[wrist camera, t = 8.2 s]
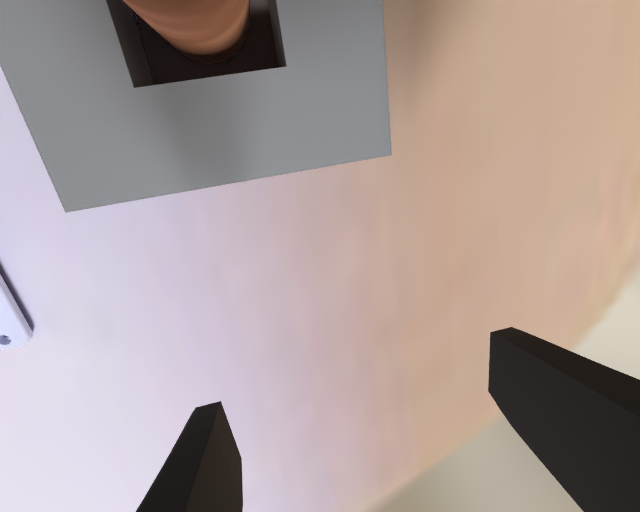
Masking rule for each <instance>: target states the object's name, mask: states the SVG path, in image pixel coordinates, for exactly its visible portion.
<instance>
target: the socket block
mask: <svg viewBox="0 0 640 512" xmlns="http://www.w3.org/2000/svg"><path fill="white" fill-rule="evenodd" d="M267 1H268V7H269V12H270V18H271V24H272V30H273V36H274V42H275V48H276V54H277V60H278V66H279V68H272V69H265V70H258V71H251V72H244V73H236V74H229V75H222V76H215V77H208V78H201V79H194V80H187V81H180V82H173V83H166V84H159V85H155V84H154V81H153V78H152V74H151V71H150V68H149V64H148V61H147V57H146V54H145V51H144V47H143V44H142V41H141V37H140V34H139V30H138V27H137V24H136V20H135V17H134V14H133V10H132V8H130V7H129V6H128V5H127V4H126V3H125V2H124V1H123V0H0V66H1V68H2V70H3V72H4V75H5V77H6V79H7V81H8V84H9V86H10V88H11V90H12V93H13V95H14V97H15V100H16V102H17V104H18V106H19V109H20V111H21V113H22V115H23V118H24V120H25V122H26V124H27V127H28V129H29V131H30V133H31V136H32V138H33V140H34V142H35V145H36V147H37V149H38V151H39V154H40V156H41V158H42V160H43V163H44V165H45V167H46V169H47V172H48V174H49V176H50V178H51V181H52V183H53V185H54V188H55V190H56V192H57V194H58V197H59V199H60V201H61V203H62V206H63V208H64V210H65V212H71V211H77V210H83V209H88V208H94V207H100V206H105V205H111V204H117V203H122V202H128V201H134V200H139V199H145V198H151V197H156V196H162V195H168V194H174V193H179V192H185V191H191V190H196V189H202V188H208V187H213V186H219V185H225V184H230V183H236V182H242V181H247V180H253V179H259V178H264V177H270V176H276V175H282V174H287V173H293V172H299V171H304V170H310V169H316V168H321V167H327V166H333V165H338V164H344V163H350V162H355V161H361V160H367V159H372V158H378V157H384V156H389V155H392V150H391V134H390V118H389V102H388V86H387V70H386V54H385V38H384V21H383V5H382V0H267Z"/></svg>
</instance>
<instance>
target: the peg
mask: <svg viewBox="0 0 640 512" xmlns="http://www.w3.org/2000/svg"><path fill="white" fill-rule="evenodd" d="M123 1H124V2H125V3H126V4H127V5H128V6H129V7H130V8H132V9H133V10H134V11H135V12H136V13H137V14H138V15H139V16H140V17H141V18H142V19H143V20H145V21H146V22H147V23H148V24H149V25H150V26H151V27H152V28H153V29H154V30H155V31H156V32H158V33H159V34H160V35H161V36H162V37H163V38H164V39H165V40H166V41H167V42H168V43H170V44H171V45H172V46H173V47H174V48H175V49H176V50H177V51H178V52H180V53H181V54H182V55H184V56H186V57H187V58H189V59H191V60H194V61H197V62H200V63H208V64H212V63H219V62H223V61H225V60H227V59H229V58H231V57H232V56H234V55H235V54H236V53H237V52H238V51H239V50H240V49H241V47H242V45H243V44H244V42H245V40H246V38H247V35H248V32H249V26H250V0H123Z"/></svg>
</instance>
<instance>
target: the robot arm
mask: <svg viewBox="0 0 640 512" xmlns="http://www.w3.org/2000/svg"><path fill="white" fill-rule="evenodd" d="M3 335H5V336H8V337H9V338H10V339H11V340H8V339H6V338H5V337H4V336H3ZM32 336H33V333H32V330H31V328H30V327H29V325H28V323H27V321H26V319H25V318H24V316H23V314H22V312H21V310H20V309H19V307H18V305H17V303H16V302H15V300H14V298H13V296H12V294H11V293H10V291H9V289H8V287H7V285H6V284H5V282H4V280H3V278H2V276H1V275H0V350H5V349H10V348H14V347H19V346H23V345H25V344H27V343H28V342H29V341H30V340H31V338H32ZM488 391H489V393H490V394H491V396H492V397H493V399H494V400H495V402H496V404H497V405H498V407H499V408H500V410H501V411H502V413H503V414H504V416H505V417H506V418H507V420H508V421H509V423H510V424H511V425H512V427H513V428H514V429H515V431H516V432H517V433H518V434H519V436H520V437H521V438H522V439H523V440H524V442H525V443H526V444H527V445H528V446H529V448H530V449H531V450H532V451H533V452H534V454H535V455H536V456H537V457H538V458H539V460H540V461H541V462H542V463H543V464H544V465H545V467H546V468H547V469H548V470H549V471H550V473H551V474H552V475H553V476H554V477H555V478H556V480H557V481H558V482H559V483H560V484H561V485H562V487H563V488H564V489H565V490H566V491H567V493H568V494H569V495H570V496H571V497H572V498H573V500H574V501H575V502H576V503H577V504H578V506H579V507H580V508H581V509H582V510H583V511H584V512H640V380H639V379H636V378H634V377H631V376H629V375H626V374H624V373H621V372H619V371H616V370H613V369H611V368H609V367H606V366H604V365H602V364H599V363H597V362H594V361H592V360H590V359H587V358H585V357H583V356H580V355H578V354H576V353H573V352H571V351H569V350H566V349H564V348H562V347H559V346H557V345H555V344H552V343H550V342H547V341H545V340H543V339H540V338H538V337H536V336H533V335H531V334H528V333H526V332H523V331H521V330H518V329H515V328H513V327H510V328H506V329H502V330H498V331H494V332H491V333H490V360H489V387H488ZM242 508H243V494H242V463H241V456H240V453H239V451H238V448H237V445H236V442H235V439H234V437H233V434H232V431H231V428H230V426H229V423H228V420H227V417H226V415H225V412H224V409H223V406H222V403H221V401H220V402H216V403H212V404H208V405H204V406H200V407H196V408H195V410H194V411H193V413H192V414H191V416H190V418H189V420H188V422H187V423H186V425H185V427H184V429H183V431H182V433H181V434H180V436H179V438H178V440H177V442H176V444H175V445H174V447H173V449H172V451H171V453H170V454H169V456H168V458H167V460H166V461H165V463H164V465H163V467H162V468H161V470H160V472H159V474H158V475H157V477H156V479H155V480H154V482H153V484H152V486H151V487H150V489H149V491H148V492H147V494H146V496H145V497H144V499H143V501H142V502H141V504H140V506H139V507H138V509H137V511H136V512H242Z"/></svg>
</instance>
